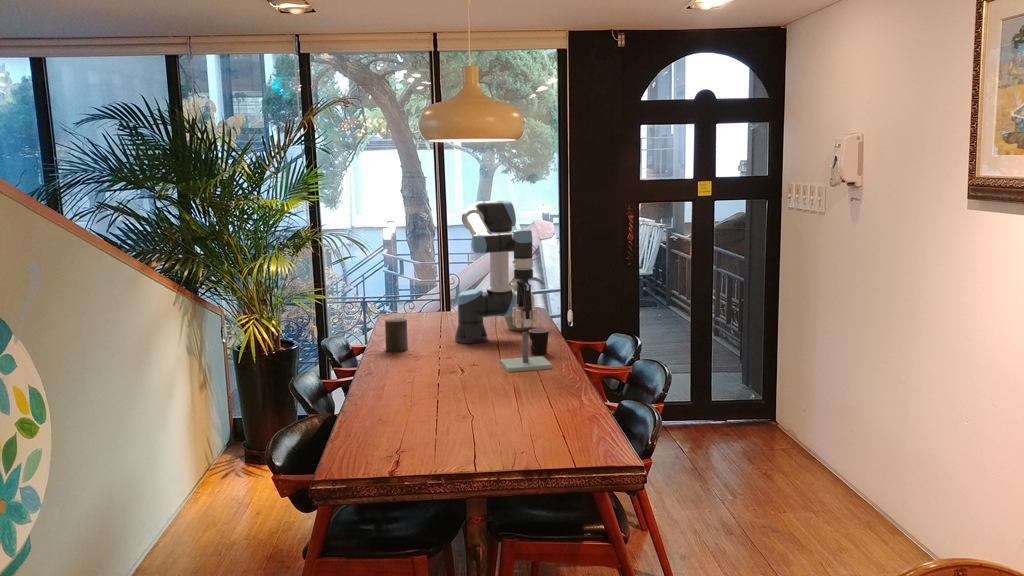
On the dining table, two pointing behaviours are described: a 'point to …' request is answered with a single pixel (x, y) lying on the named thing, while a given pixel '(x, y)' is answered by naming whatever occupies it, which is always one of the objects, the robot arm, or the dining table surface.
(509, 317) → the vase
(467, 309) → the robot arm
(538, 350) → the coffee mug
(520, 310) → the wooden square ring
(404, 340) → the pillar candle
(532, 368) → the rod stand
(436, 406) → the dining table surface
